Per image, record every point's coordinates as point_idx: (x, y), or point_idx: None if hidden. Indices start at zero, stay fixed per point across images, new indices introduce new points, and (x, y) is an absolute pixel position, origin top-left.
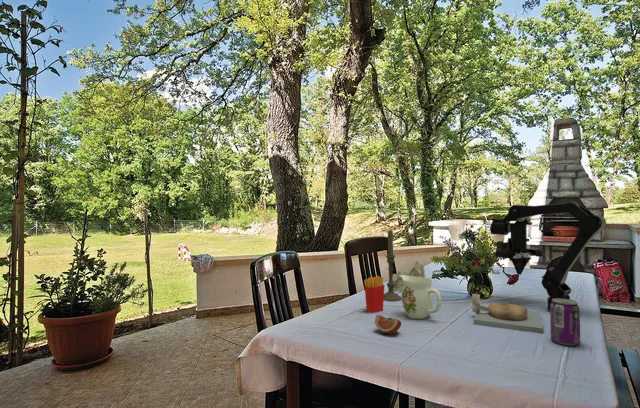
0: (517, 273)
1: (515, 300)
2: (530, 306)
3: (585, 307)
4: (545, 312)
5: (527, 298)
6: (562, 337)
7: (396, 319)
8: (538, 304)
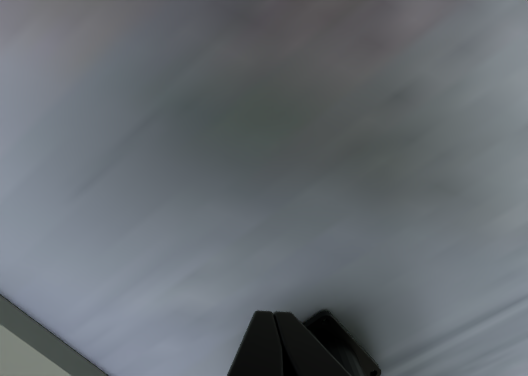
0: (250, 327)
1: (328, 70)
2: (268, 236)
3: (525, 354)
4: (226, 351)
5: (476, 65)
6: None
7: None
8: (366, 221)
